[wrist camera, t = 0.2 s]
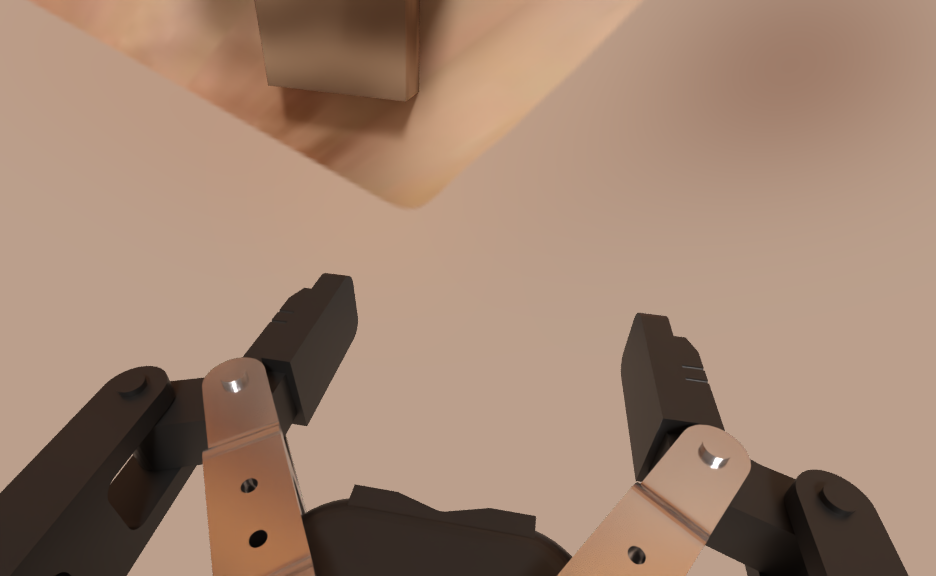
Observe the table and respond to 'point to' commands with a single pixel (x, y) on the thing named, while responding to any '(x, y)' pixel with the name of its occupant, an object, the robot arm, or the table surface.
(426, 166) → the table surface
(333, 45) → the walnut block
